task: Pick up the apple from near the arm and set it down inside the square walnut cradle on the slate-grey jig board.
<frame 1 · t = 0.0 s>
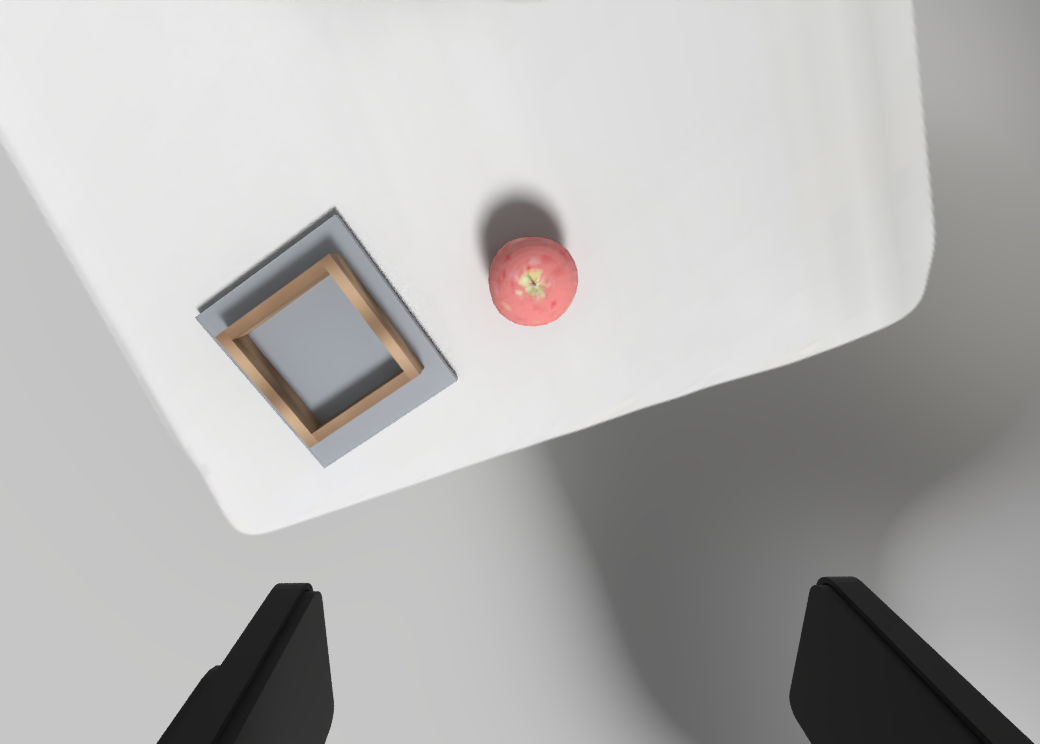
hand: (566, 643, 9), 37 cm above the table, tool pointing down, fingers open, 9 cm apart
apple: (529, 278, 44), on the table
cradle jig: (333, 347, 45), on the table
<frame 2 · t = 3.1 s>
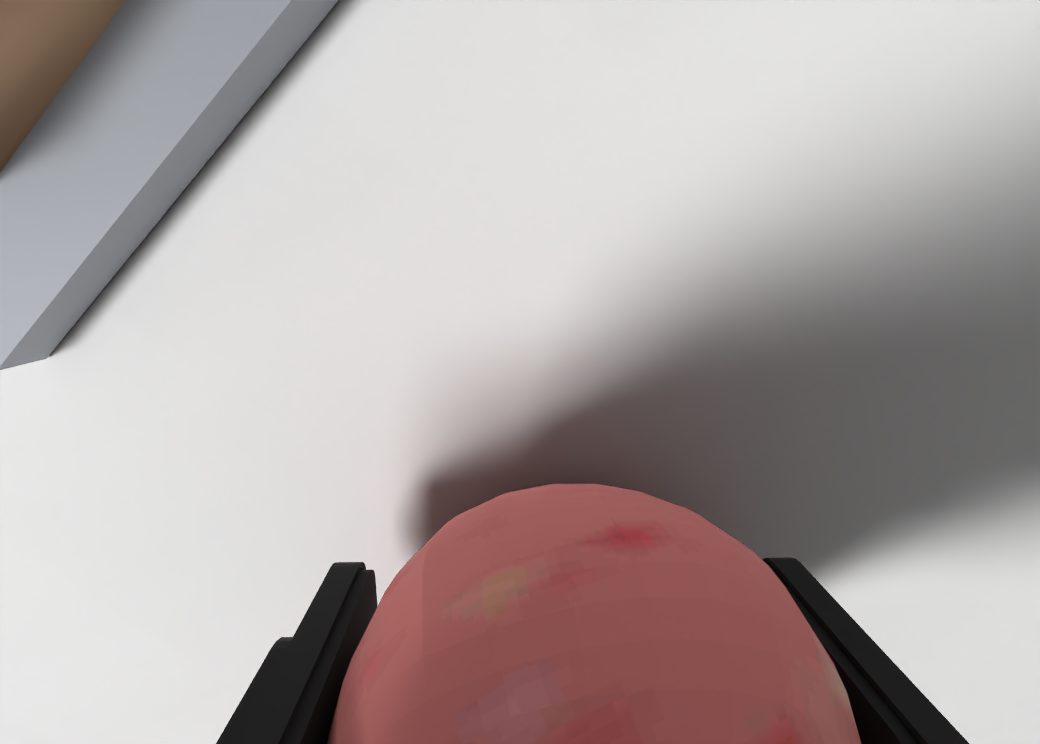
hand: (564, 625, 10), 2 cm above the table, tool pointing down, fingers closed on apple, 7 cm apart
apple: (553, 556, 12), on the table, touching gripper
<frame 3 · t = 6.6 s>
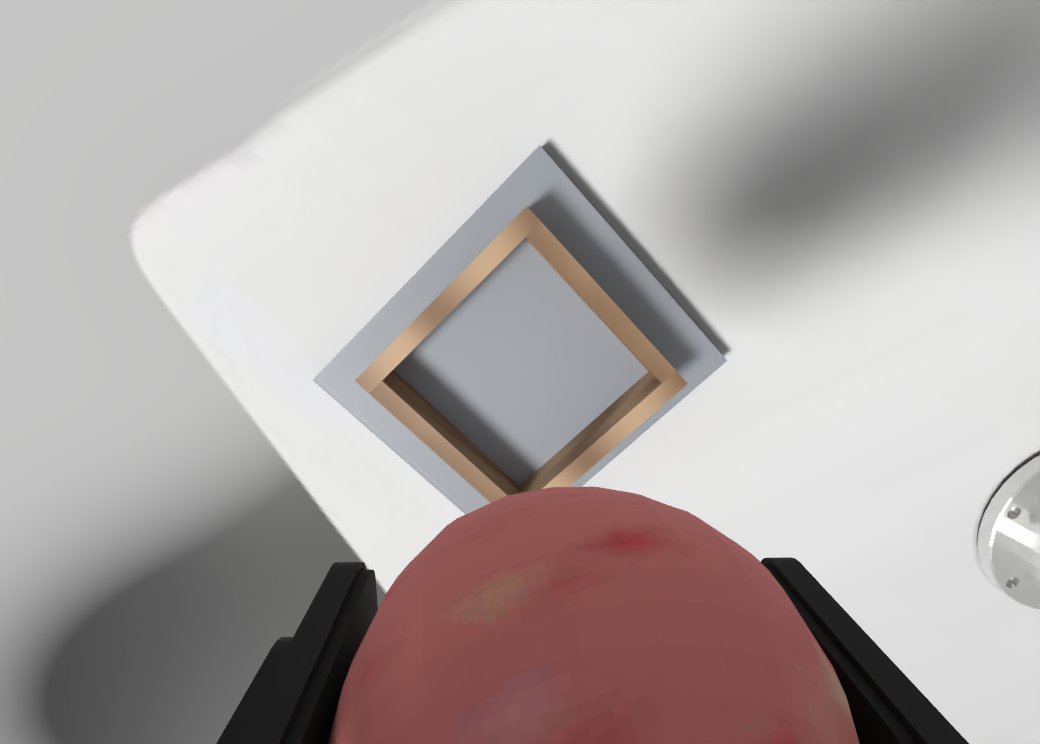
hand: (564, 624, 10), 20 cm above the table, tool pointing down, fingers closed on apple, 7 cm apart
apple: (553, 558, 12), point 18 cm above the table, touching gripper
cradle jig: (521, 366, 29), on the table
when the fingers open (4 cm above the table, at t = 10.2 s): apple drops 1 cm, resting on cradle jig.
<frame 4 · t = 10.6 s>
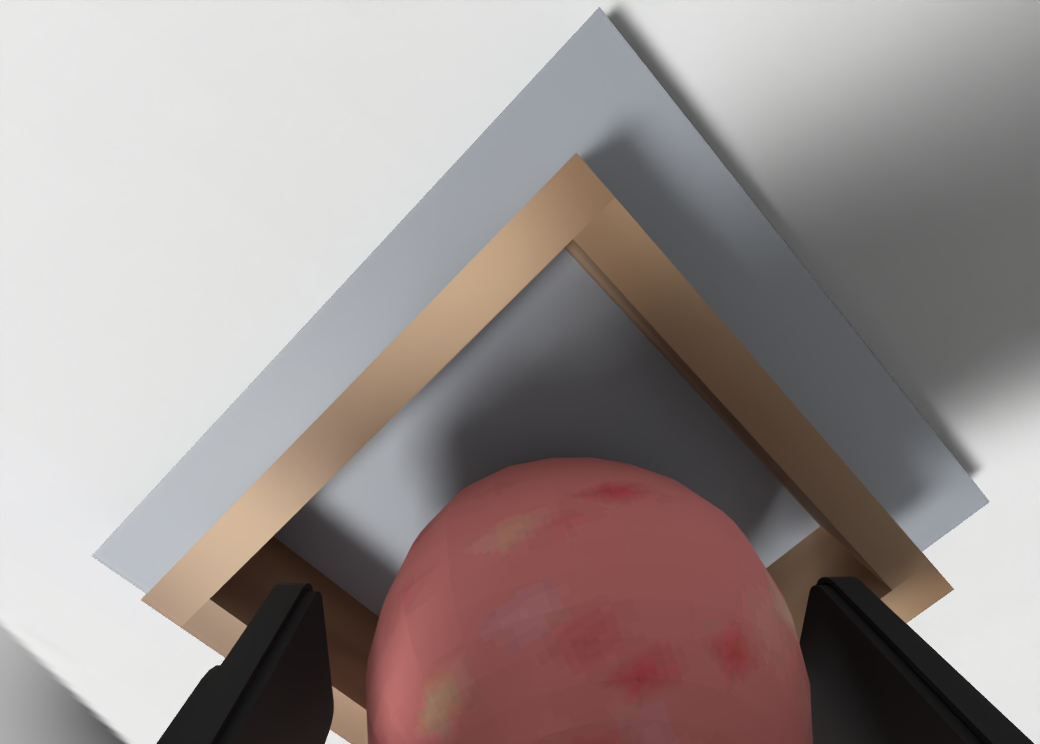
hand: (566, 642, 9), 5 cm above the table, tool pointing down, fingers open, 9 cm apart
apple: (553, 528, 13), point 1 cm above the table, touching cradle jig
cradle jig: (545, 508, 14), on the table
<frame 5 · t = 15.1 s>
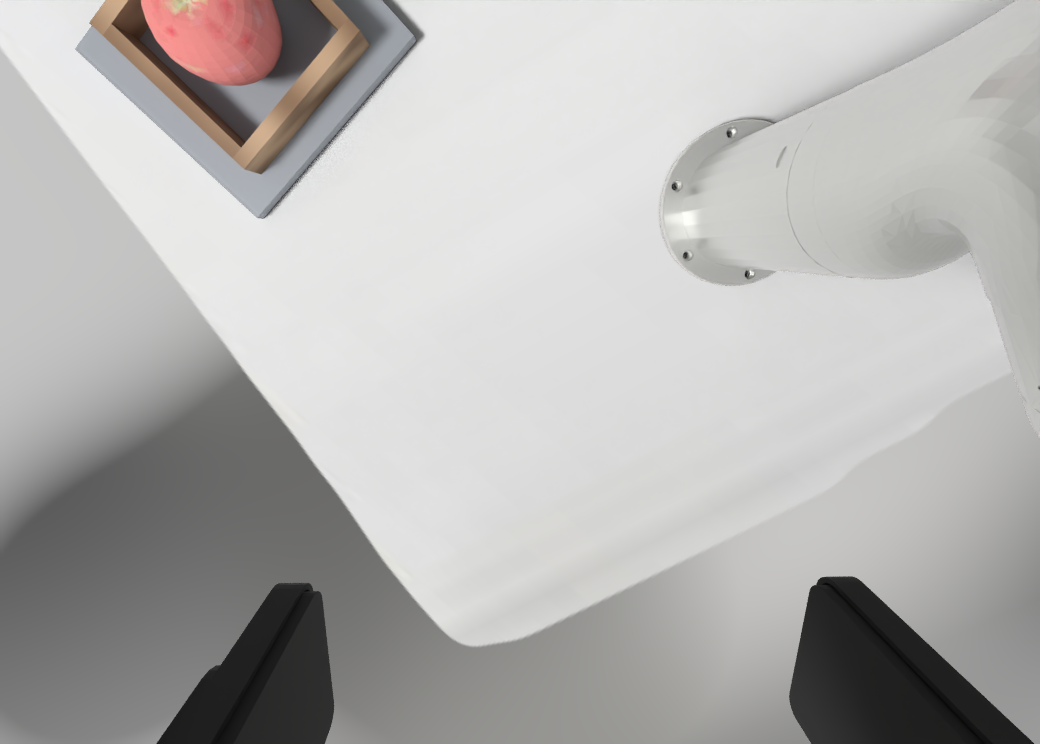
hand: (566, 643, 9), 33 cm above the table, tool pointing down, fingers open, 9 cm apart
apple: (249, 45, 34), point 1 cm above the table, touching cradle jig
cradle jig: (252, 47, 35), on the table
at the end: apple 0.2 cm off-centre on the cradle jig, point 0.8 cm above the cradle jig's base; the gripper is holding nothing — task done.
